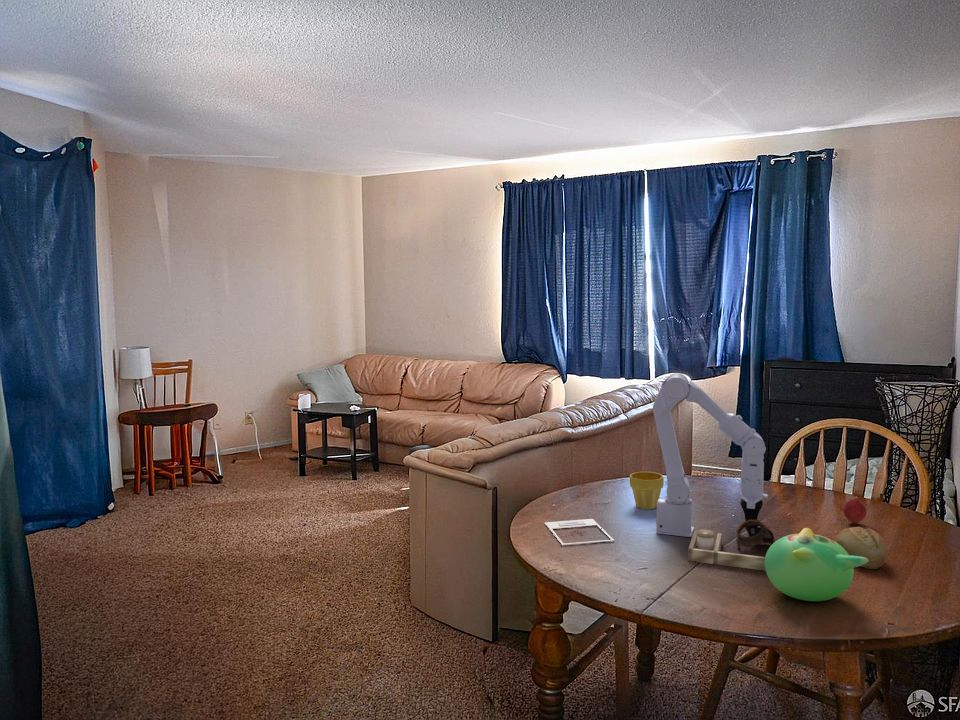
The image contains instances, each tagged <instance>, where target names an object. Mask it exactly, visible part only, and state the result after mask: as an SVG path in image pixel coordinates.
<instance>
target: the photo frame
mask: <svg viewBox="0 0 960 720" xmlns="http://www.w3.org/2000/svg"><path fill="white" fill-rule="evenodd" d="M544 525H545V527H546V526H547V527H548V528H549V529H548V528H547V529H548V531H549V532H550V531H551V532H552V533H553V534H552V533H551V532H550V533H551V534H552V536H553V537H554V536H555V537H556V538H557V539H556V538H555V537H554V538H555V539H556V541H557V540H558V541H559V542H560V543H561V544H560V543H559V542H558V541H557V542H558V543H559V544H560V545H562V546H561V547H564V546H563V545H570V544H582V543H594V542H603V541H614V542H615V539H614V538H613V537H612V536H611V535H609V533H607V531H606V530H605V529H604V528H603V527H602V526H601V525H600V524H599V523H598V522H597V521H595V519H594V518H587V519H585V518H584V519H572V520H571V519H570V520H560V521H546V522H544ZM592 525H597V526H598V527H599V528H600V529H601V528H602V529H601V530H602V531H603V532H604V533H605V534H606V535H607V536H608V537H609V538H610V540H609V539H603V540H591V541H577V542H568V543H567V542H566V543H564V542H563V541H562V539H561V538H560V537H559V536H558V535H557V533H556V532H555V530H553V529H560V530H562V529H561V528H571V527H582V526H592Z"/></svg>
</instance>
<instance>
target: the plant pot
mask: <svg viewBox="0 0 960 720" xmlns="http://www.w3.org/2000/svg"><path fill="white" fill-rule="evenodd" d="M664 479H665V478H664V475H663V474H661V473H660V472H655V471H637V472H633V473H631V474H629V486H630V488H631V489H632V493H633V494H632V495H633V498H634V502H635V503H634V504H635V506H636V508H638V507H639V509H642V508H643V509H642V510H655V509H657V502H658V499H660V496H661V491H662V489H663V488H664V482H665V481H664Z"/></svg>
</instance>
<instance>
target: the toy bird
mask: <svg viewBox="0 0 960 720" xmlns="http://www.w3.org/2000/svg"><path fill="white" fill-rule="evenodd" d="M764 557H765V569H766V571H765V573H766V575H767V577H768V579H769V581H770V583H771V584H772V585H773V586H774V587H775V588H776V589H777V590H778V591H779V592H781V593H782V594H785V595H786V596H789V597H790V598H793V599H796V600H800V601H806V602H824V601H829V600H831V599H835V598H837V597H839V596H841V595H842V594H843V593H845V592H846V591H847V590H848V589H849V587H850V586H851V584H852V582H853V581H854V575H855V571H854V569H855V568H857V567H858V568H859V567H862V566H861V565H864V564H866V563H867V562H868V559H867V558H865V557H860V556H851V555H848V553H847V552H846V550H845V549H844V548H843V547H842V546H841V545H839V544H838V543H836V540H833V539H831V538H829V537H826V536H823V535H819V534H815V533H814V531H812V529H811V528H809V527H804V528H802V529H801V531H799V533H792V534H788V535H785V536H783V537H780V538H779V539H778V538H777V540H775V542H774V543H773V544H770V546H769V548H768V549H767V550H766V554H765V556H764Z"/></svg>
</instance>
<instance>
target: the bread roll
mask: <svg viewBox="0 0 960 720" xmlns="http://www.w3.org/2000/svg"><path fill="white" fill-rule="evenodd" d="M835 542H836V543H838V544H839V545H841V546H842V547H843V548H844V549H845V550H846V552H847V553H848V555H851V556H860V557H865V558H867V559H868V562H867V563H866V564H864V565H861V566H860V567H862V568H865V569H867V570H875V569H879V568H881V567H882V566H884V564H885V562H886V560H887V553H888V551H887V547H886V544H885V541H884V539H883V537H882V536H881V535H880V534H879V533H878V532H877V531H875V530H874V529H872V528H870V527H867V526H854V527H846V528H844V529H841V530H840V532H838V534H837V535H836V540H835Z"/></svg>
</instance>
